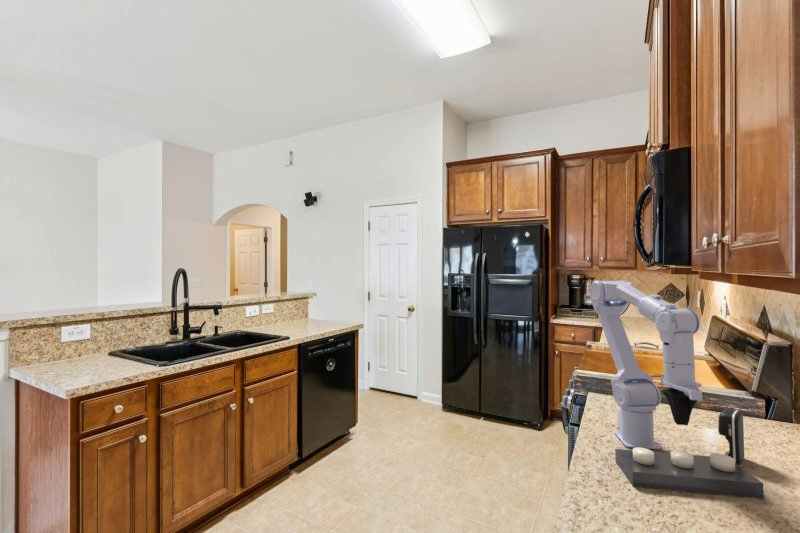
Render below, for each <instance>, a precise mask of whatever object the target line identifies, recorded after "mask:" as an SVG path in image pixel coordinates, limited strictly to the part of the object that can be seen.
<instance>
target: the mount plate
mask: <svg viewBox="0 0 800 533" xmlns="http://www.w3.org/2000/svg"><path fill="white" fill-rule="evenodd" d="M614 451H615V452H614V453H615V454H614V456H615V463H616V464H617V466H618V468H619V469H620V470H621V471H622V473H623V475H624V476H625V478H626V479H627V480H628V482H629V483H630V485H631V486H632V487H635V488H644V489H645V488H646V489H656V490H666V491H678V492H686V493H687V492H688V493H695V494H697V493H698V494H707V495H717V496H718V495H719V496H729V497H738V498H749V499H760V500H761V499H762V500H764V499H765V495H764V494H765V493H764V482H762V481H760V479H758V478H757V477H756V476H754V475H753V474H751V473H750V472H748V471H747V470H746V469H745V468H744V467H742V466H741V465H738V464H736V463H735V471H734V472H726V471H721V470H718V469H715V468H713V467H712V466H711V465H710V455H701V454H700V455H699V454H692V455H693V456H694V467H693V468H682V467H678V466H676V465H674V464H672V463H671V452H660V451H653V452H654V464H653V465H644V464H640V463H637V462H635V461H634V460H633V449H622V448H621V449H620V448H615V449H614Z"/></svg>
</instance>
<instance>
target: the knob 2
mask: <svg viewBox="0 0 800 533" xmlns="http://www.w3.org/2000/svg"><path fill="white" fill-rule="evenodd" d="M709 456H710V465H711V466H712V467H713V468H715V469H718V470H721V471H726V472H734V471H735V460H734V459H733V458H732V457H730V456H727V455H725V454H723V453H717V452H714V453H710V454H709Z"/></svg>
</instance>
